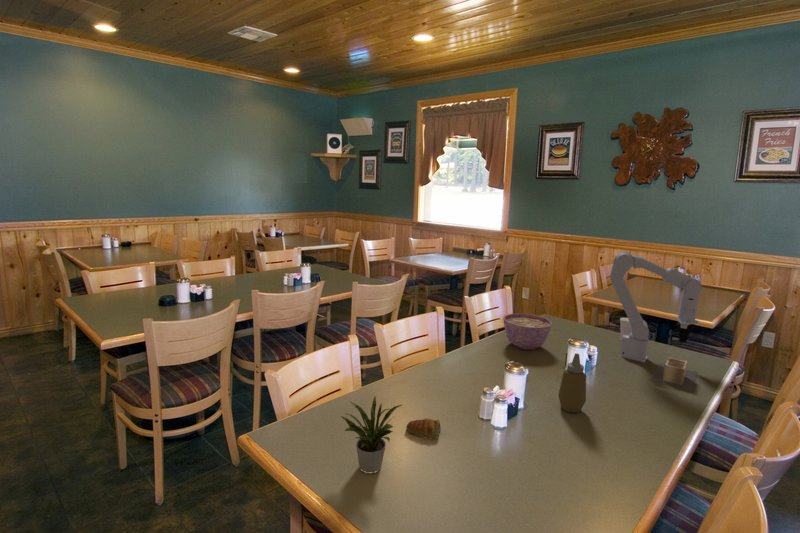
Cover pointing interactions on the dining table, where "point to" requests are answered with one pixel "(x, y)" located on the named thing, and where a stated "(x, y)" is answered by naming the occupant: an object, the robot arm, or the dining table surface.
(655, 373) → the rubber mat
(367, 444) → the house plant
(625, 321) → the smoothie
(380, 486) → the dining table surface
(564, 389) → the squeeze bottle
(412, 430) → the pastry
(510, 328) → the bowl of food
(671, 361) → the birch block
